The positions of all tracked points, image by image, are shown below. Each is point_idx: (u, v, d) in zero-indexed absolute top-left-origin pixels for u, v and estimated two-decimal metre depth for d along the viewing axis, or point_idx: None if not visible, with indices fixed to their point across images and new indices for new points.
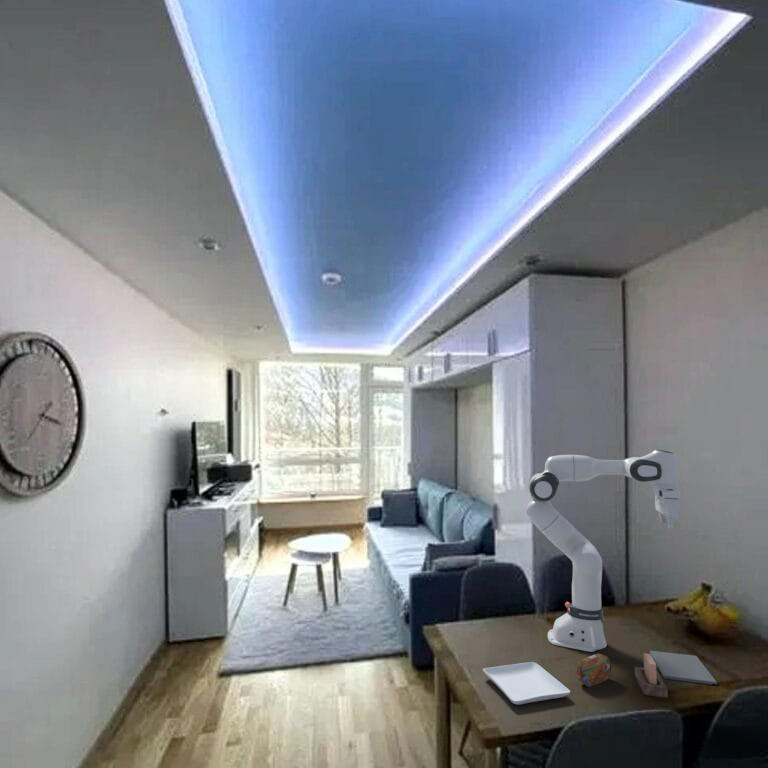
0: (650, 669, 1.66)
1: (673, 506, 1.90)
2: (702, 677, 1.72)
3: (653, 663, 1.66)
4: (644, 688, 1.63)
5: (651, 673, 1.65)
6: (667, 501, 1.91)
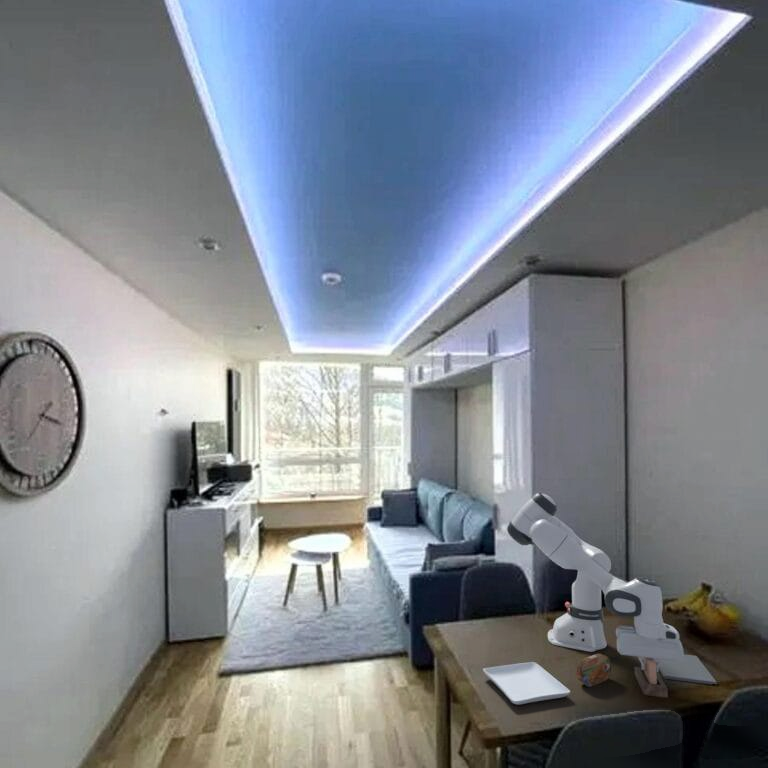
0: (650, 669, 1.66)
1: None
2: (702, 677, 1.72)
3: (653, 663, 1.66)
4: (644, 688, 1.63)
5: (651, 673, 1.65)
6: (680, 642, 1.66)
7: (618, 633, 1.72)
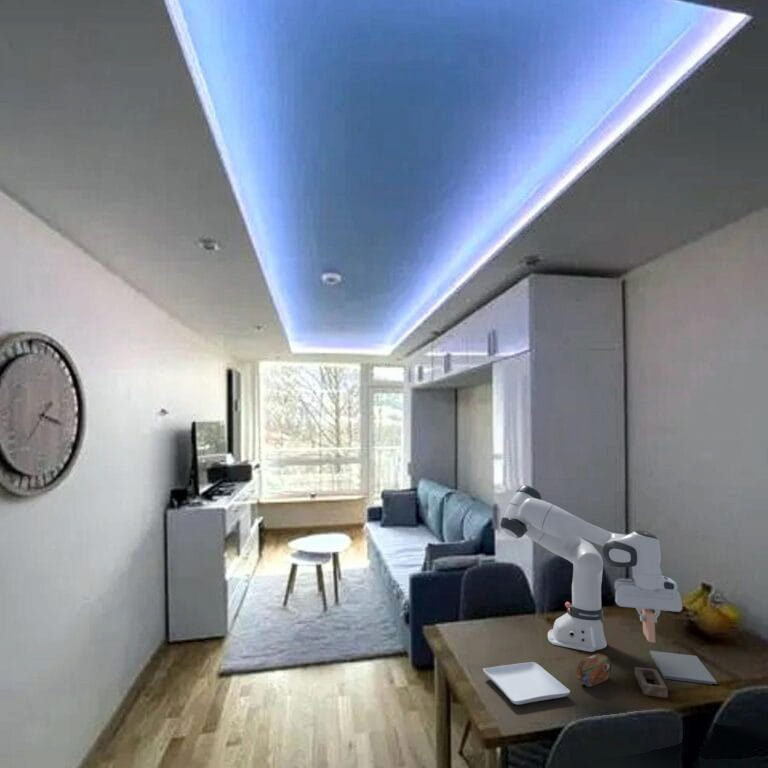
0: (648, 619, 1.67)
1: None
2: (702, 677, 1.72)
3: (651, 613, 1.67)
4: (644, 688, 1.63)
5: (649, 623, 1.67)
6: None
7: (617, 585, 1.73)
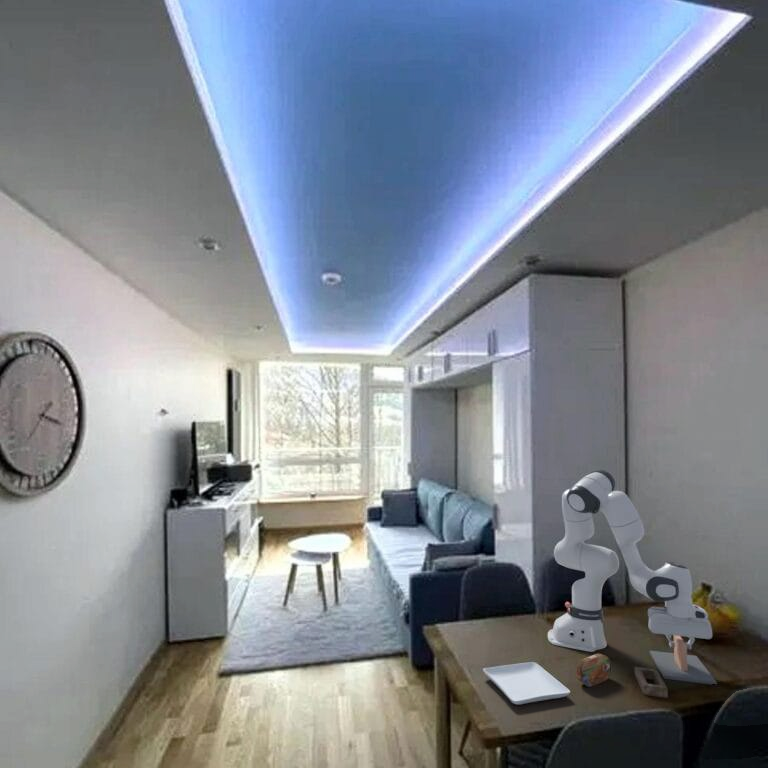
0: (681, 649, 1.78)
1: None
2: (702, 677, 1.72)
3: (683, 643, 1.79)
4: (644, 688, 1.63)
5: (682, 652, 1.78)
6: None
7: (650, 613, 1.85)
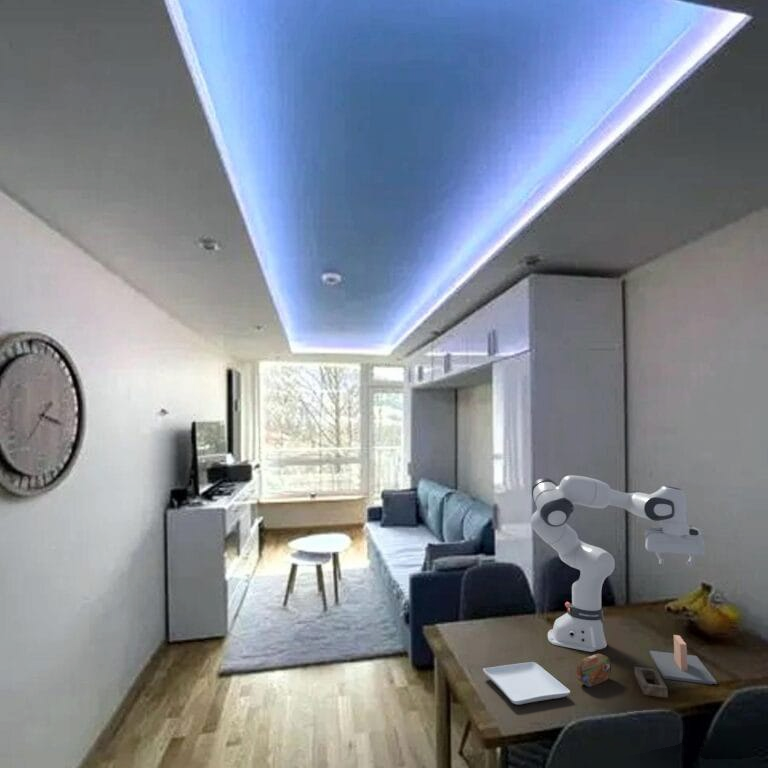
0: (681, 649, 1.78)
1: None
2: (702, 677, 1.72)
3: (683, 643, 1.79)
4: (644, 688, 1.63)
5: (682, 652, 1.78)
6: (702, 538, 1.90)
7: (647, 534, 1.96)
